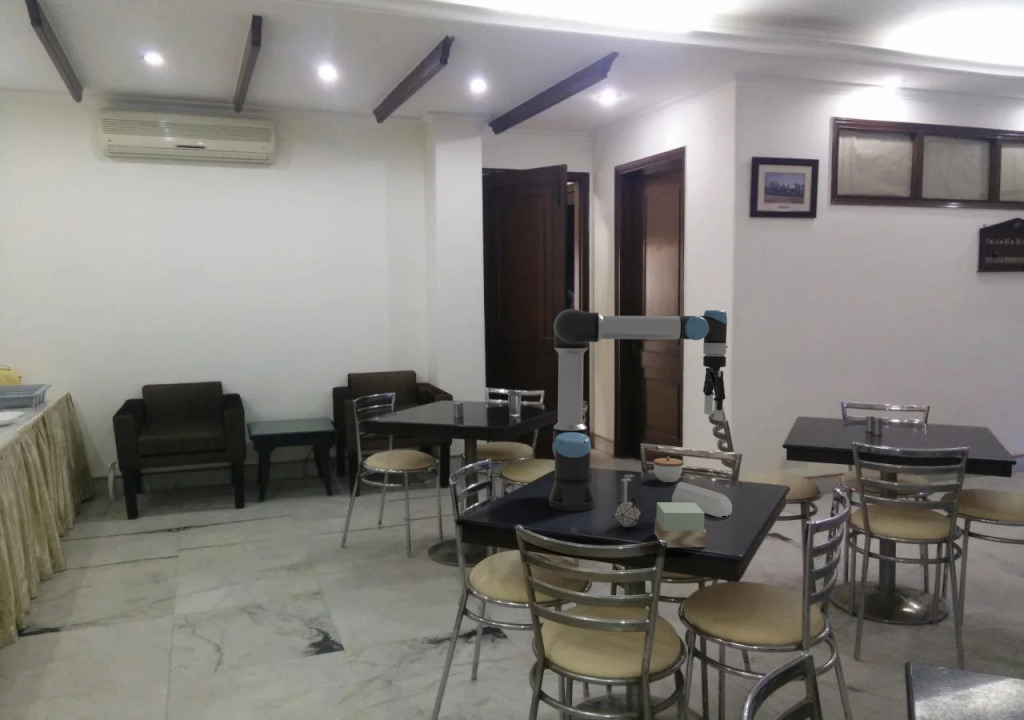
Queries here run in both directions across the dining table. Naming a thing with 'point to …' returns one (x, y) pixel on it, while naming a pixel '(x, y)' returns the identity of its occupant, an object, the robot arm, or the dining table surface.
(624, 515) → the game die
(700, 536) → the tower base block
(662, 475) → the lidded jar
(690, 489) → the chamfered grey bar
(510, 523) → the dining table surface
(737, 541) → the dining table surface
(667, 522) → the tower top block
